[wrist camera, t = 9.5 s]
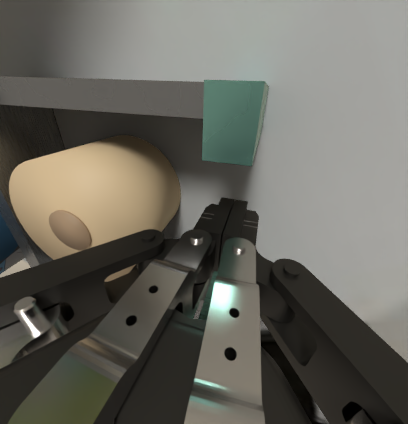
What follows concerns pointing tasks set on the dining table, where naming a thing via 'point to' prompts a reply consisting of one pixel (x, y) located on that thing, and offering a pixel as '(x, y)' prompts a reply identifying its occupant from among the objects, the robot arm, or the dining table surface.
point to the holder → (132, 104)
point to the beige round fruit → (94, 195)
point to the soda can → (8, 247)
